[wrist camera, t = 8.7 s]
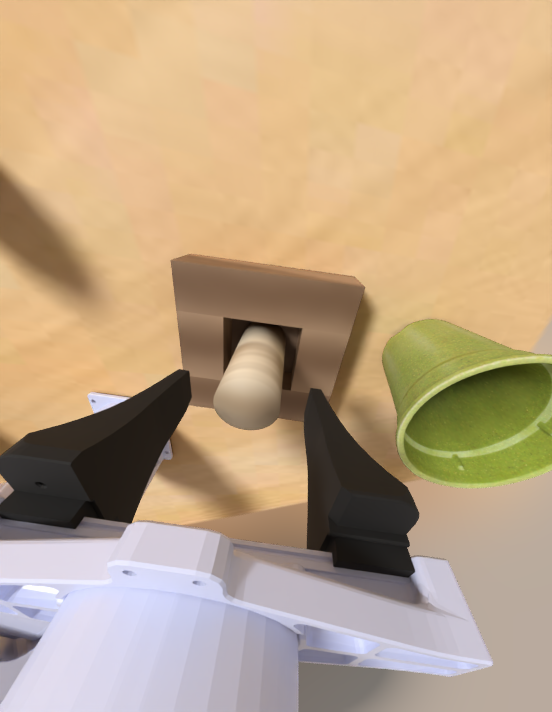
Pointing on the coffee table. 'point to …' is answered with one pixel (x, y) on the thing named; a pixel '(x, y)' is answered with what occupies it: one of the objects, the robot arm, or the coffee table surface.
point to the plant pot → (469, 406)
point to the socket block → (266, 305)
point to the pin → (253, 379)
